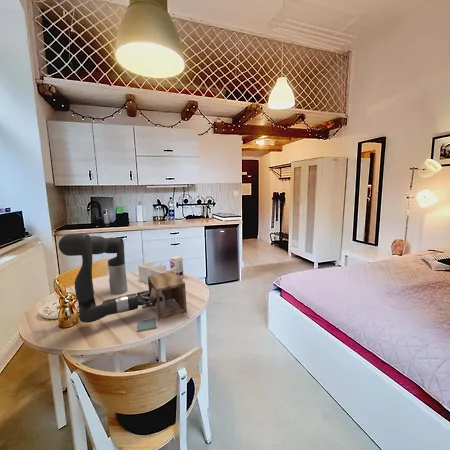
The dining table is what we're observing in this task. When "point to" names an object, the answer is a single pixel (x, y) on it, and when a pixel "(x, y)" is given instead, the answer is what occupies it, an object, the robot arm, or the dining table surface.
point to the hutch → (169, 292)
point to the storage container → (151, 270)
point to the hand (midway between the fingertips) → (160, 295)
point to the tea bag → (153, 295)
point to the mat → (146, 324)
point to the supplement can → (177, 265)
